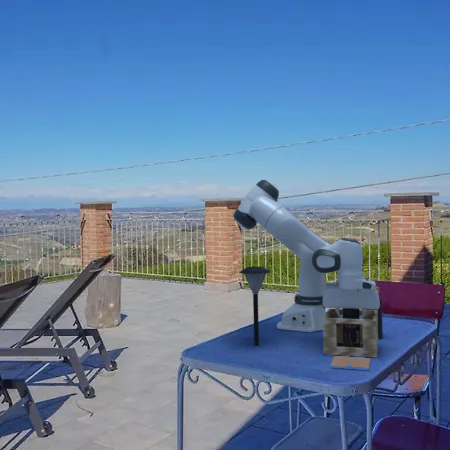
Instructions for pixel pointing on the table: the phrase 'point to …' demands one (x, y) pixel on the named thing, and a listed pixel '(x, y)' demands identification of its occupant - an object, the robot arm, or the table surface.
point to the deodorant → (351, 329)
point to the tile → (350, 361)
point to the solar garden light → (255, 292)
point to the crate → (335, 334)
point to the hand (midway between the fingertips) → (351, 320)
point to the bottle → (379, 317)
